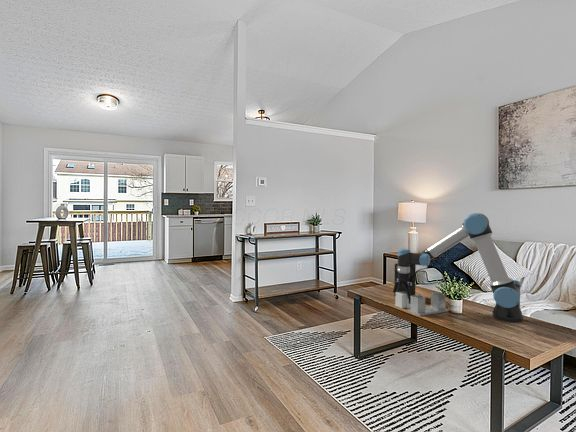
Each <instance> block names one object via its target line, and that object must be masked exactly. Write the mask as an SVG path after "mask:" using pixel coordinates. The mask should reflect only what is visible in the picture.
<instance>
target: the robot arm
mask: <svg viewBox="0 0 576 432" xmlns="http://www.w3.org/2000/svg"><path fill="white" fill-rule="evenodd" d="M492 235H493V231H492V228H491V226H490V220H489V218H488V217H487V216H486V215H485V214H483V213H479V212H478V213H477V212H475V213H471V214H469V215H467V216H466V217H465V218H464V221H463V223H461V225H460V227H458V228H457V229H455V230H454V231H452V232H450V233H449V234H448V235H446V236H444V237H443V238H441V239H440V240H438V241H437V242H435V243H433V244H432V245H430V246H429V247H427V248H426V249H424V250H422V251H421V252H411V250H410V249H409V248H399V249H398V251H397V263H398V278H399V279H395V278H394V286H393V289H392V290H393V291H392V292H393V294H394V293H395V294H396V292H400V290H401V288H402V286H403V287H404V288H405V290H406V293H407V296H408V298H407V308H406V309H410V305H411V296H413V295H414V291H413V283H412V282H409V278H410V273H409V272H410V264H414V265H416V266H423V267H424V266H430V263H431V261H433V260H434V259H435V258H436V257H438V256H440V255H442V254H443V253H444V252H446V251H448V250H450V249H451V248H453V247H454V246H455V245H457V244H459V243H461V242H462V241H464V240H466V239H467V238H470V240H471V241H473V242H474V243H475V245H476V248H477V251H478V253H479V255H480V257H481V260H482V262H483V264H484V267H485V269H486V272H487V274H488V277H489V279H490V283H489V286H490V289H491V292H492V295H493V300H494V302H495V306H494V307H493V310H492V314H491V315H492V318H494V319H496V320H499V321H503V322H506V323H507V322H508V323H515V324H516V323H523V322H524V316H523V312H522V310H521V304H520V303H521V282H520V281H519V280H515V279H513V278H510V277H509V275H508V273H507V271H506V268H505V266H504V264H503V261H502V259H501V257H500V255H499V253H498V250H497V248H496V246H495V243H494V241H493V239H492Z"/></svg>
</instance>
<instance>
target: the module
mask: <svg viewBox="0 0 576 432" xmlns="http://www.w3.org/2000/svg"><path fill="white" fill-rule="evenodd" d="M394 298H395V300H394V302H395V303H394V305H395V307H397V308H399V309H408V308H407V298H408V296H407V293H406V292H405V291H402V292H396V294H395V296H394Z"/></svg>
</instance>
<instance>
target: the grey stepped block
mask: <svg viewBox="0 0 576 432" xmlns="http://www.w3.org/2000/svg"><path fill="white" fill-rule="evenodd" d="M444 294H445V293H442V292H439V291H438V292H437V291H436V292H431V293H430V305H427V306H426V297H425V296H423V295H421V296H420V295H413V296H411V305H410V308H409V309H408V308H406V309H407V312H408V313H411V314H413V315H416V316H418V317H422V316H423V317H424V316H427V315H434V314H440V313H447V312H449V308H446V296H445V295H446V294H445V295H444Z"/></svg>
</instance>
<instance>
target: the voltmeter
mask: <svg viewBox="0 0 576 432" xmlns="http://www.w3.org/2000/svg"><path fill="white" fill-rule="evenodd" d="M416 266H417V265H414V264H410V272H409V273H410V278H409V282H412V283H413V291H414V295H415V294H416V275H417V274H416V271H417V270H416ZM395 279H399V278H398V262H397V263H394V280H395ZM402 291H405V292H406V290H405V288H404V287H403V286H402V288H401V290H400V292H402ZM393 295H394V297H395V293H394V292H393Z"/></svg>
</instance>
